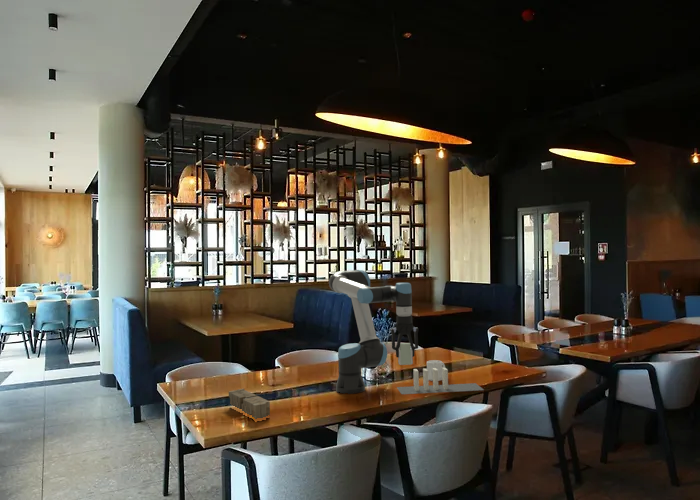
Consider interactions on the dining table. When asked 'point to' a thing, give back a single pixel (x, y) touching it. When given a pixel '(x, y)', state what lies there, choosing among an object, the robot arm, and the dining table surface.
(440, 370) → the cup
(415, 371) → the domino
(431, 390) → the slate mat
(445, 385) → the domino
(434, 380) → the domino
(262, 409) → the grey long block
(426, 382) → the domino
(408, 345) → the domino
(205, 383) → the dining table surface
